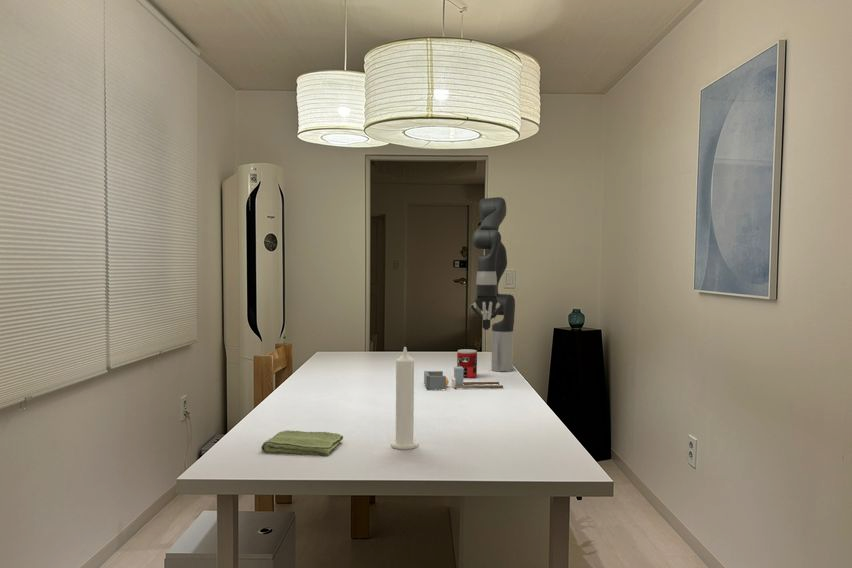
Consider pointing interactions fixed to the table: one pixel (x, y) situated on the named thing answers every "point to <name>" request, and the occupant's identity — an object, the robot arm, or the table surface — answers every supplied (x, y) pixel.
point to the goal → (434, 380)
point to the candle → (404, 403)
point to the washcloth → (302, 443)
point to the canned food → (467, 362)
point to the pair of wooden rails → (479, 386)
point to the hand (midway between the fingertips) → (486, 329)
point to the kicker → (457, 377)
